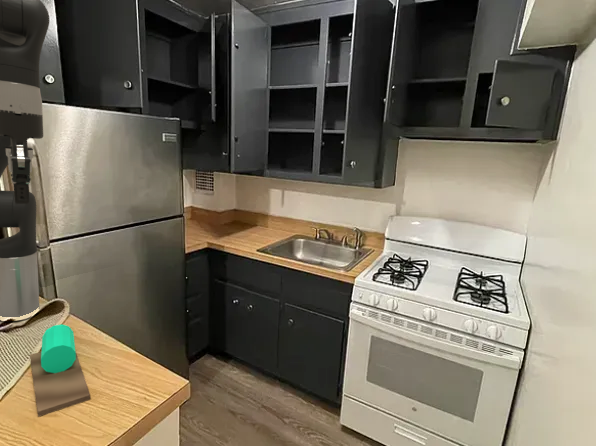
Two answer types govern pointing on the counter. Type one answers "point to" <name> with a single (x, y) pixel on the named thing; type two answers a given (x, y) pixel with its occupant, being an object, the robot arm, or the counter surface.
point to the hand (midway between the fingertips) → (22, 203)
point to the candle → (58, 349)
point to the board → (57, 386)
